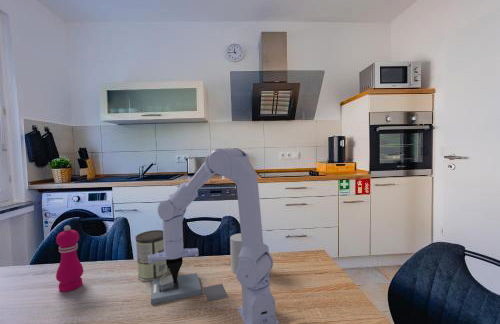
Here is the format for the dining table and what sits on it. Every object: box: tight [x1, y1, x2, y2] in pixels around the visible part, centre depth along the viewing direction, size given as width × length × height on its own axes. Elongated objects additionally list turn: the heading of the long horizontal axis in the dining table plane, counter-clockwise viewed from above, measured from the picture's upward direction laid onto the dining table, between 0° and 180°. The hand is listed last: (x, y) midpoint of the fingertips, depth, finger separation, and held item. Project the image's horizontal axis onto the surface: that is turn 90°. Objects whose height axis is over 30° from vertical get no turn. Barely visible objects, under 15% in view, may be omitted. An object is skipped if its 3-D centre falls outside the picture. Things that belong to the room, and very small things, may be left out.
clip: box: [158, 274, 175, 292], centre depth 79 cm, size 4×4×4 cm
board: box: [150, 272, 202, 305], centre depth 79 cm, size 11×14×2 cm
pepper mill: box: [55, 225, 84, 293], centre depth 83 cm, size 7×7×20 cm
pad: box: [203, 283, 229, 303], centre depth 77 cm, size 8×6×1 cm
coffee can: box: [134, 229, 170, 282], centre depth 90 cm, size 10×10×14 cm
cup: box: [229, 232, 242, 275], centre depth 91 cm, size 8×8×12 cm
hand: (175, 281), depth 79 cm, fingers closed
